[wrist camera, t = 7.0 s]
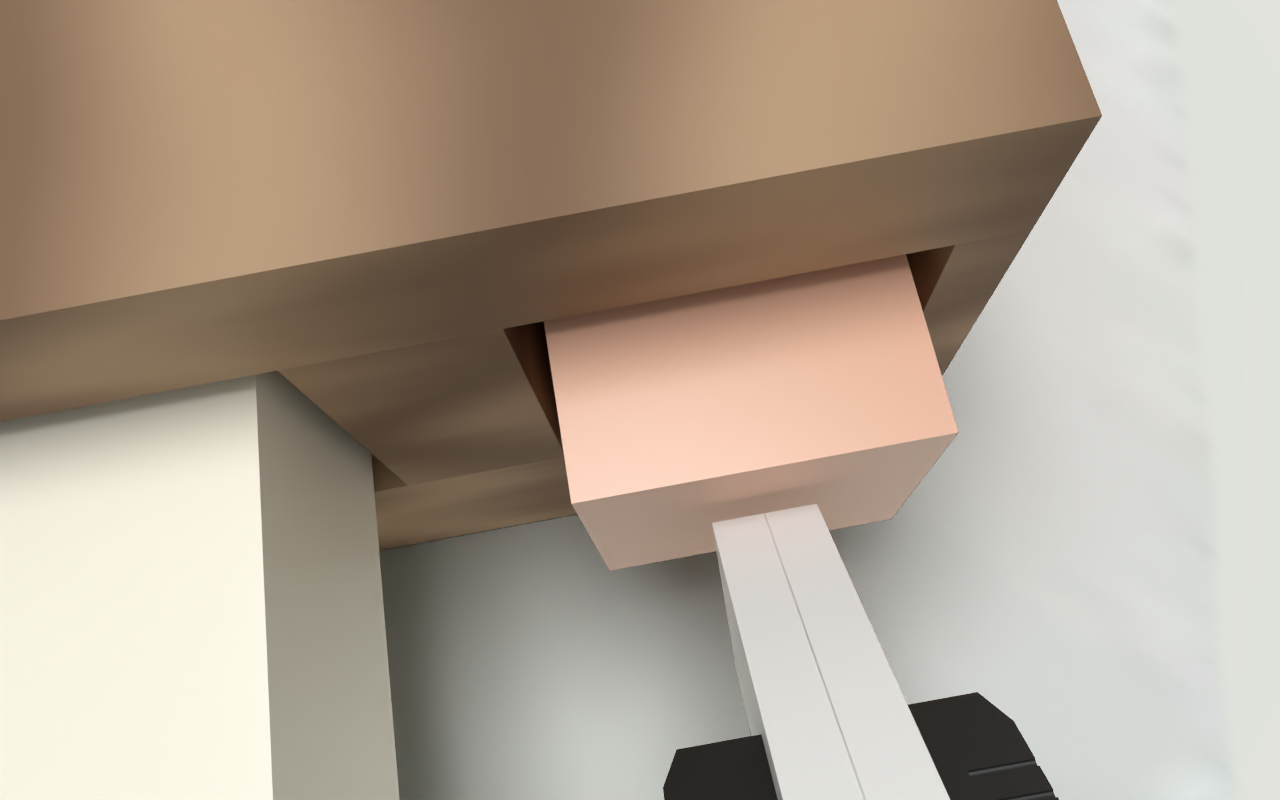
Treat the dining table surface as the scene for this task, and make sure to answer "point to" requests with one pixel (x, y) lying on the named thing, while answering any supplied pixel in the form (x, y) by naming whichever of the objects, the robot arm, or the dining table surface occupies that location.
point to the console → (488, 196)
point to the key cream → (192, 602)
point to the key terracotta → (747, 407)
